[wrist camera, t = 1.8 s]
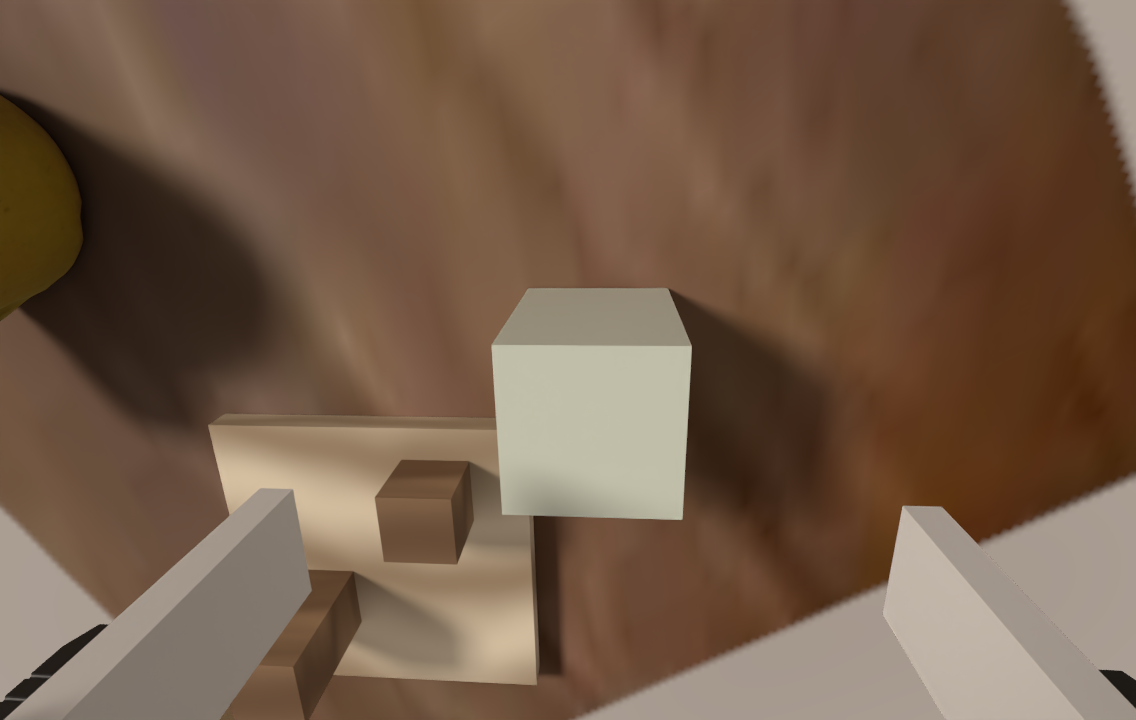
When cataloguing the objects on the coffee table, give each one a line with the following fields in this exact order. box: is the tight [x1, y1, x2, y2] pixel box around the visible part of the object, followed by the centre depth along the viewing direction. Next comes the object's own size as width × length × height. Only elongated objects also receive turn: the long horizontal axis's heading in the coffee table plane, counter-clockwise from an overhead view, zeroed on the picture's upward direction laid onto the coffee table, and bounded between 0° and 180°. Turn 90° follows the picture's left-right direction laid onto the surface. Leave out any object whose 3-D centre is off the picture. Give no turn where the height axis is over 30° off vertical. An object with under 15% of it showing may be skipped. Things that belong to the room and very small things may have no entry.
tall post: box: [230, 570, 362, 720], centre depth 26 cm, size 3×3×6 cm
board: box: [208, 414, 540, 685], centre depth 26 cm, size 14×14×4 cm
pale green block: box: [492, 288, 692, 520], centre depth 21 cm, size 6×6×8 cm
